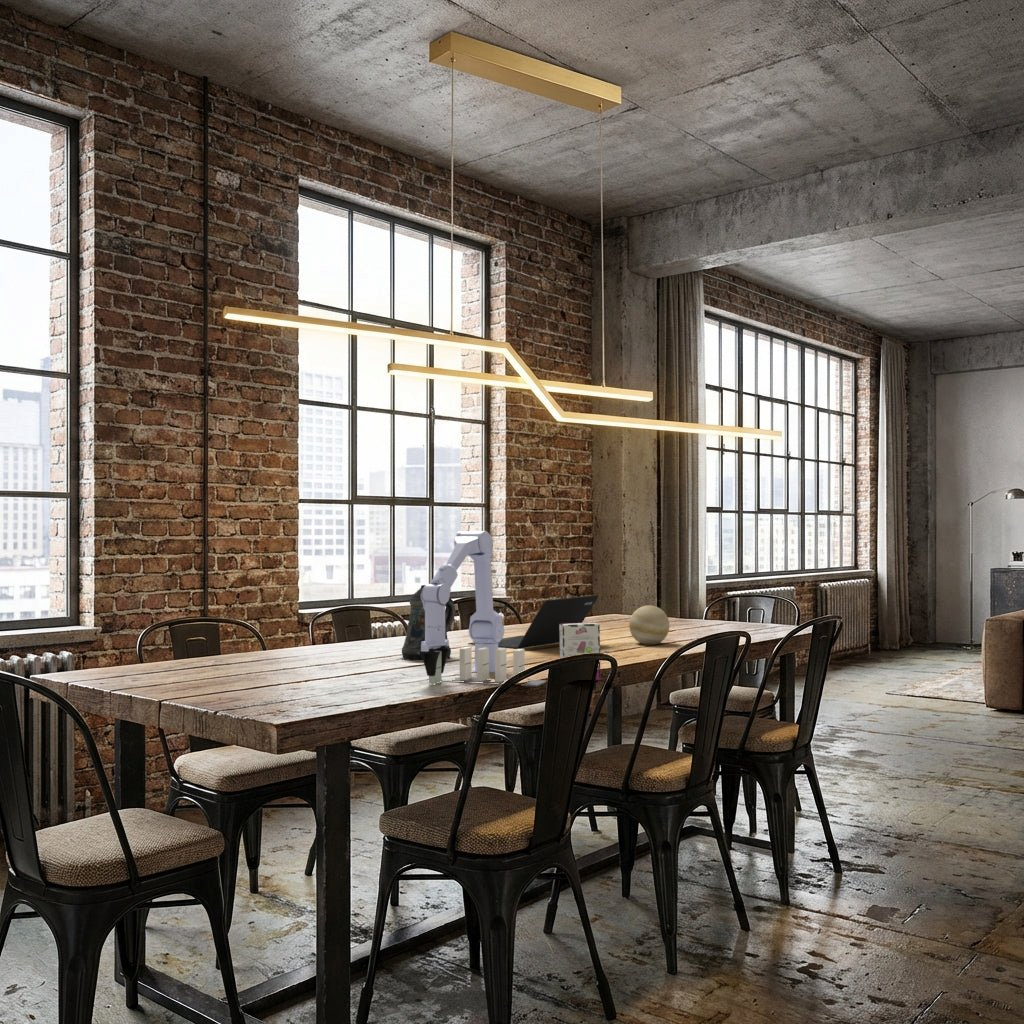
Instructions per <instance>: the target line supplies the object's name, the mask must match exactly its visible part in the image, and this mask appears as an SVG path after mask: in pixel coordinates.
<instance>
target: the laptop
mask: <svg viewBox="0 0 1024 1024" xmlns="http://www.w3.org/2000/svg"><path fill="white" fill-rule="evenodd" d="M598 598H599V595H598V594H595V595H594V594H593V595H584V596H574V597H566V598H563V597H562V598H556V599H555V598H553V599H546V600H545V602H543V604H542V606H541V607H540V608H539V610H538V612H537V613H536V615H534V619H533V620H532V621H531V623H530V625H529V627H528V629H527V630H526V632H525V633H524V635H517V636H516V635H515V636H509V637H503V638H502V639H501V640H500V642H498V648H499V649H500V648H507V649H512V650H517V649H526V648H531V647H540V646H545V645H553V644H558V643H559V644H560V630H559V624H571V623H584V620H585V619H586V617H587V616H588V614H589V613H590V611H591V610H592V608H593V606H594V605H595V602H597V599H598ZM467 645H470V646H471V645H472V646H475V642H473V641H472V642H468V643H467Z"/></svg>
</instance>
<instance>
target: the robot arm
mask: <svg viewBox="0 0 1024 1024" xmlns="http://www.w3.org/2000/svg"><path fill="white" fill-rule="evenodd" d="M453 545H454V548H453V550H452V552H451V554H450V555H449V558H448V560H447V562H446V564H442V565H441V566H439V568H438V569H437V571H436V573H435V575H434V576H433V578H432V579H431V581H430V582H429V583H428V584H425V585H426V586H424V587H423V589H422V593H421V600H422V602H423V608H424V610H425V641H422V642H421V650H420V655H421V657H422V659H423V664H424V667H425V672H426V674H427V677H429V676H435V673H436V664H437V659H438V656H439V654H440V652H435V651H442V669H441V673H442V674H444V670H445V665H446V661H447V660H448V659H447V656H448V654H449V652H450V649H451V647H450V645H449V644H450V643H449V642H450V641H449V639H448V638H447V639H448V640H447V639H445V616H446V606H445V604H446V603H447V602H448V601H449V598H451V597H450V594H451V592H452V589H451V588H452V586H453V585H454V583H455V581H456V579H457V578H458V575H459V573H458V571H457V570H458V569H459V568H460V566H461V565H462V564H463V562H464V561H465V560H466V559H467V557H469V558H470V559H471V560H473V567H474V568H473V569H474V572H473V573H474V588H475V589H474V590H475V610H476V611H475V612H474V613H473V614H472V615H470V617H469V618H470V619H469V627H468V635H469V637H470V639H471V640H472V643H473V642H475V645H474V666H473V667H472V670H473V673H477V649H480V648H484V647H485V648H489V673H495V650H497V649H499V647H498V642H500V640H501V639H502V638H504V636H505V635H504V634H505V627H504V624H503V617H502V615H501V614H499V613H498V612H497V611H495V610H494V597H493V596H494V595H493V577H492V559H491V558H492V557H493V554H494V553H493V536H492V535H491V534H490V533H489V531H487V530H482V531H464V530H459V531H458V532H457V533H456V536H455V538H454V539H453ZM445 646H449V647H450V648H445Z"/></svg>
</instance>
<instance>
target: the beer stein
mask: <svg viewBox="0 0 1024 1024" xmlns="http://www.w3.org/2000/svg"><path fill="white" fill-rule="evenodd" d="M426 585H427V584H424V585H422V584H421V586H420V588H419V589H418V590H417V591H415V593H413V594H412V595H411V596H410V597H409V599H408V601H409V602H408V603H409V605H410V610H409V611H410V612H409V617H408V624H407V630H406V635H405V639H404V643H403V645H402V648H401V656H402V659H403V658H404V659H403V660H406V659H409V660H408V661H414V660H423V659H422V657H421V655H420V650H421V642H422V641H425V610H424V608H423V602H422V600H421V593H422V589H423V587H424V586H426ZM455 616H456V606H455V603H454V600H453V599H452V598H451V597H449V601H448V602H447V603H446V604H445V639H447V640H449V638H448V632H449V630H450V628H451V627H452V625H453V622H454V620H455ZM445 648H450V652H449V654H448V656H447V658H449V659H450V658H451V657H450V656H451V653H452V650H451V647H450V645H449V646H445Z"/></svg>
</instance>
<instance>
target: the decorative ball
mask: <svg viewBox="0 0 1024 1024" xmlns="http://www.w3.org/2000/svg"><path fill="white" fill-rule="evenodd" d="M628 626H629V632H630V634H631V636H632V637H633V638H634V640H635V641H636V642H638V643H639V644H640V645H648V646H649V645H650V646H651V645H652V646H653V645H658V644H660V643H662V642H663V641H664V640H665V639H666V638H667V636H668V634H669V631H670V620H669V617H668V615H667V614H666V613H665V611H664V610H663V609H661V607H658V606H656V605H655V606H654V605H651V604H650V605H642V606H641V607H640V606H639V608H637V609H636V610H635V611H633V613H632V615H631V616H630V619H629V625H628Z"/></svg>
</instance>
